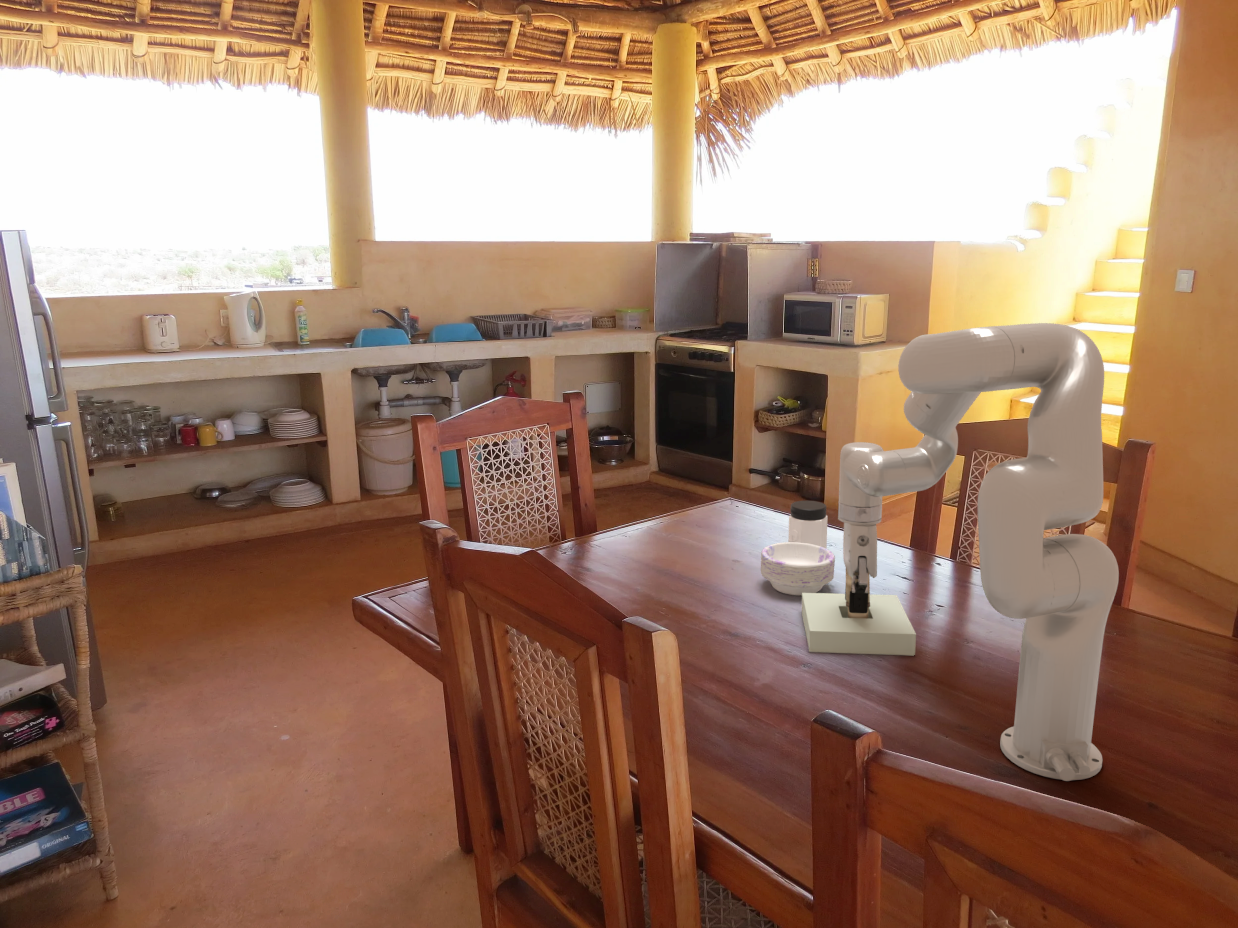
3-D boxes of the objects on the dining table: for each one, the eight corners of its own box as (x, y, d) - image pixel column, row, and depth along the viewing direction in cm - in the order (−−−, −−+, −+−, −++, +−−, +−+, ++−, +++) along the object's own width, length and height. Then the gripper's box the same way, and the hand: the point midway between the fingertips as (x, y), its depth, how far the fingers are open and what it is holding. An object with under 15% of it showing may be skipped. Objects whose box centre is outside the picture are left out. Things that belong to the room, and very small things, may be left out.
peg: (872, 630, 154) (871, 565, 154) (847, 630, 155) (846, 565, 154) (868, 624, 159) (867, 560, 158) (844, 624, 159) (843, 560, 158)
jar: (781, 551, 203) (782, 503, 201) (808, 545, 207) (809, 498, 204) (806, 562, 196) (807, 512, 193) (833, 556, 199) (835, 506, 197)
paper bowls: (848, 594, 176) (850, 557, 175) (785, 606, 171) (786, 569, 169) (806, 571, 190) (807, 537, 188) (747, 581, 185) (747, 546, 183)
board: (914, 655, 148) (916, 634, 147) (809, 651, 151) (810, 630, 150) (895, 614, 166) (896, 595, 165) (801, 611, 168) (802, 592, 167)
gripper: (889, 525, 144) (884, 626, 148) (873, 499, 161) (869, 590, 165) (844, 525, 145) (840, 624, 149) (833, 498, 162) (830, 589, 166)
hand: (856, 605), depth 157 cm, fingers closed on peg, 4 cm apart
